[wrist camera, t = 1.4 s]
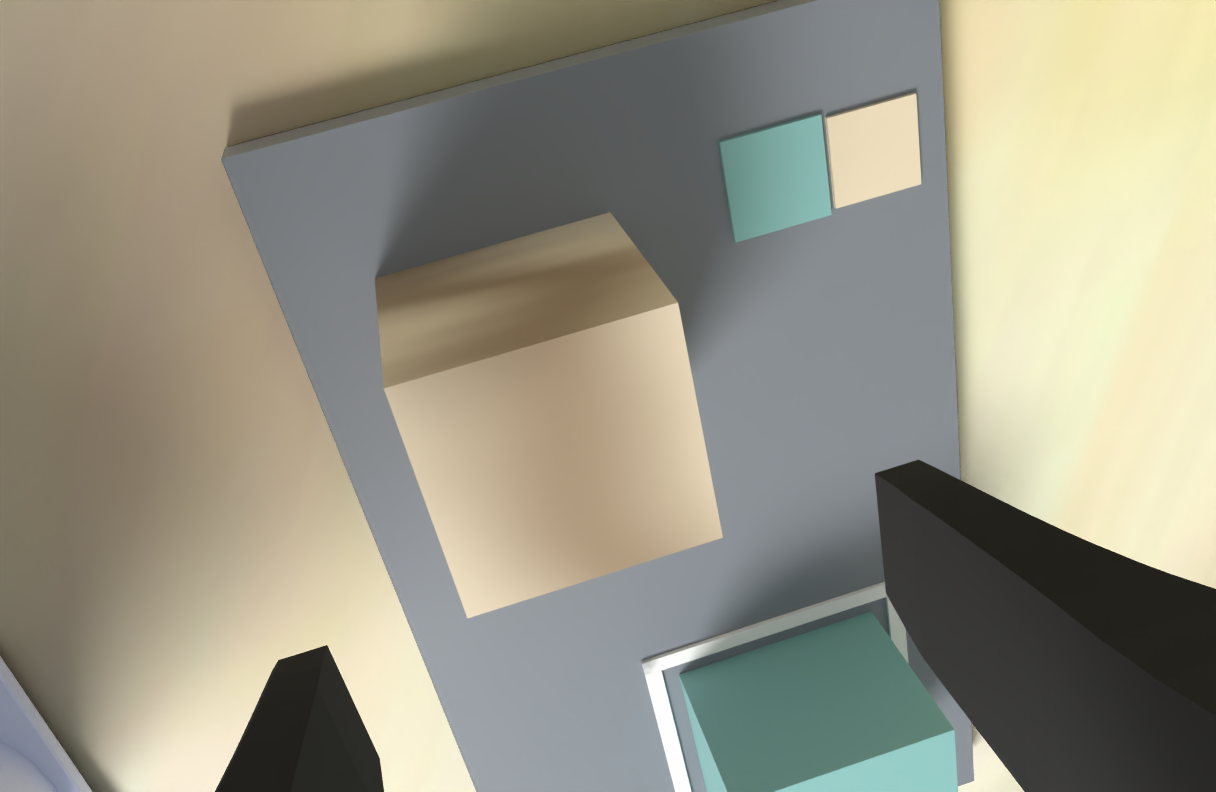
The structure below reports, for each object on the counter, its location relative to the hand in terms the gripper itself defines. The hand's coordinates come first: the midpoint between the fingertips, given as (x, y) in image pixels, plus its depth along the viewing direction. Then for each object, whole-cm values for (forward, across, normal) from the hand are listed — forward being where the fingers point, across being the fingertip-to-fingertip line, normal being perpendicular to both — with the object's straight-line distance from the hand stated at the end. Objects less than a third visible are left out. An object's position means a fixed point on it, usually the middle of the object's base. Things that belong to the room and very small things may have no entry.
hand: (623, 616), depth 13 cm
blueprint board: (+9, -2, +6) cm, 11 cm away
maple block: (+8, 0, 0) cm, 8 cm away
